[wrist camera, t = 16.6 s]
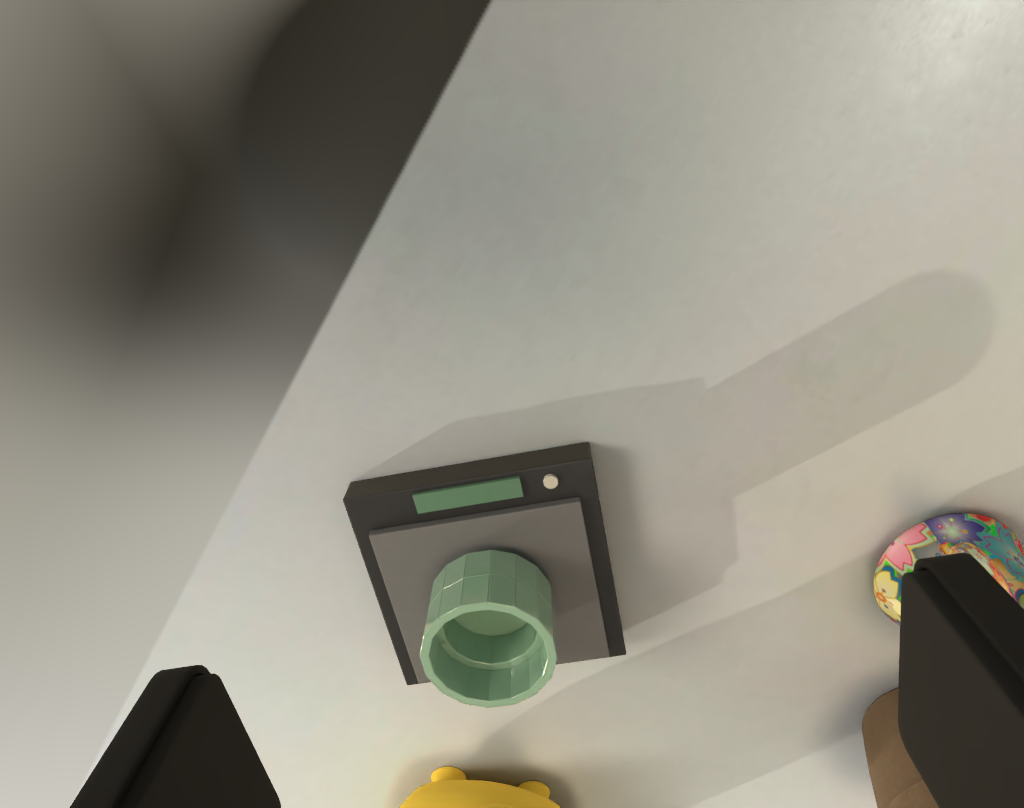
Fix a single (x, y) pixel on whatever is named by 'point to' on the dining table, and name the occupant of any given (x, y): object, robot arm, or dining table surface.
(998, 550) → the mug
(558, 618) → the scale
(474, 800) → the teapot
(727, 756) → the dining table surface
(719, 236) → the dining table surface
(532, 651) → the bowl
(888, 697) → the flower pot
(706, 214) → the dining table surface
